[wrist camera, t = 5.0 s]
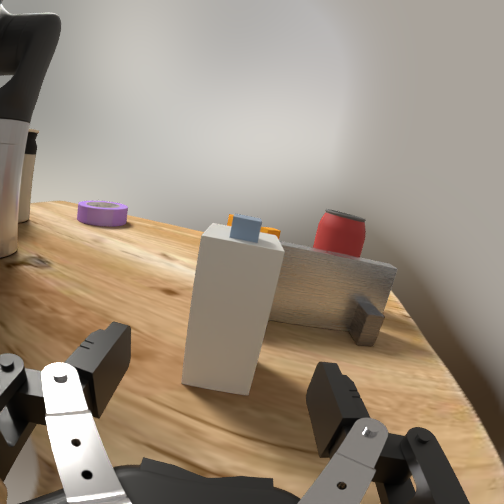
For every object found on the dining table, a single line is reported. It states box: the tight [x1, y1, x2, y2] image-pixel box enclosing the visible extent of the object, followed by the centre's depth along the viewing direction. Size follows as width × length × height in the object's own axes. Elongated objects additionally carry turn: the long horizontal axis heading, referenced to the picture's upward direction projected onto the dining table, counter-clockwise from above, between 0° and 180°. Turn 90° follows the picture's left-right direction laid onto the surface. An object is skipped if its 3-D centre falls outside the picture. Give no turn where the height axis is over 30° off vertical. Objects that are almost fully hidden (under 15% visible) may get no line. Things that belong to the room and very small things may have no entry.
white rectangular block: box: [181, 214, 285, 396], centre depth 19 cm, size 5×5×11 cm
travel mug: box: [18, 129, 39, 223], centre depth 42 cm, size 8×8×18 cm
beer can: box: [313, 209, 366, 257], centre depth 39 cm, size 7×7×12 cm
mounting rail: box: [268, 241, 397, 346], centre depth 31 cm, size 18×8×8 cm, turn 91°
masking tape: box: [77, 201, 128, 226], centre depth 59 cm, size 12×12×4 cm
